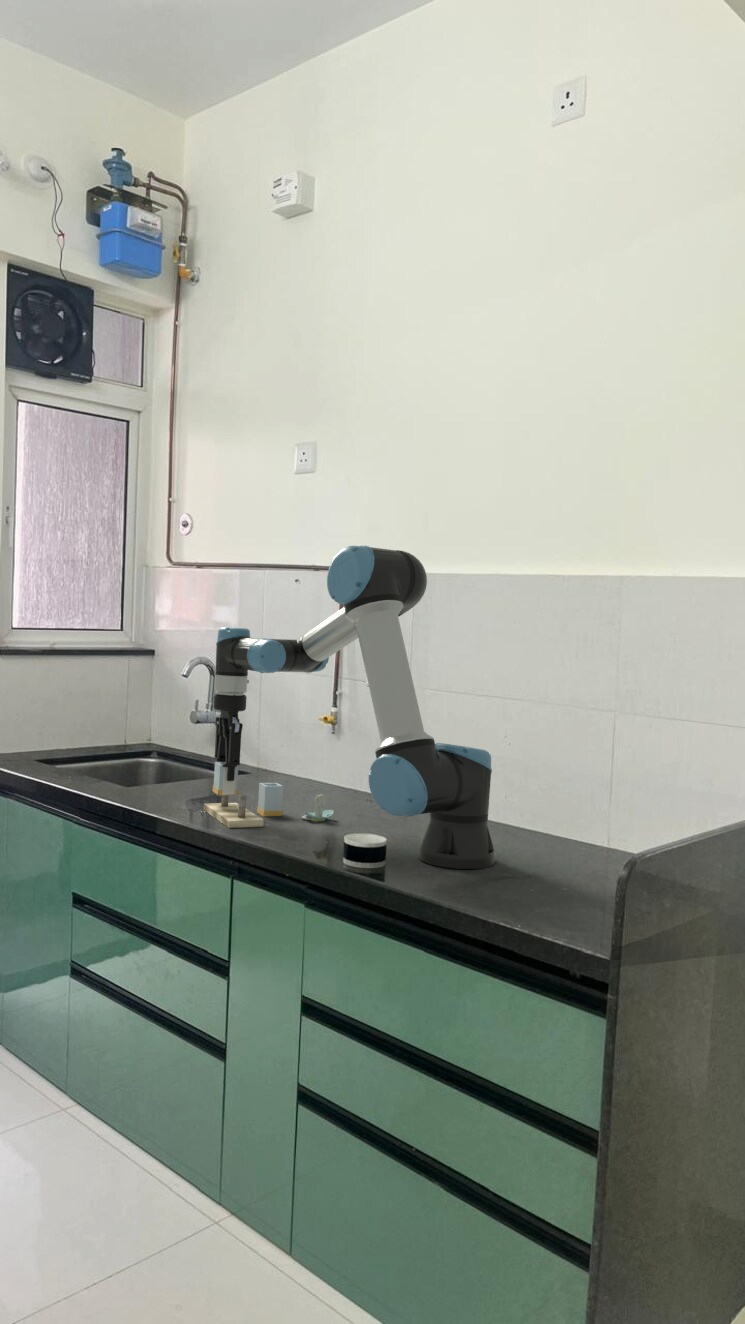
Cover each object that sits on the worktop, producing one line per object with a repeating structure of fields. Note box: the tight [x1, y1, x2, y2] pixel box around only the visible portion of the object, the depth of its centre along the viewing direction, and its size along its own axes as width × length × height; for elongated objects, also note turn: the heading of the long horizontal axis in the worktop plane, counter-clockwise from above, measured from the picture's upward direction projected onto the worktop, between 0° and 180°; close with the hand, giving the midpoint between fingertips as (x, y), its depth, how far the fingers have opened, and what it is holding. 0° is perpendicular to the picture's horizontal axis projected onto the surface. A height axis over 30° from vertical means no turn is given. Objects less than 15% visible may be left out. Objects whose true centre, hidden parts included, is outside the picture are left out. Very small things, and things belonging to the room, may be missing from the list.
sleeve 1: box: [211, 761, 240, 796], centre depth 237 cm, size 5×5×7 cm
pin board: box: [203, 793, 265, 829], centre depth 231 cm, size 20×8×6 cm, turn 25°
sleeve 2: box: [256, 782, 284, 817], centre depth 238 cm, size 5×5×7 cm
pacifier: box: [301, 793, 335, 822], centre depth 235 cm, size 7×6×6 cm
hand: (225, 792), depth 237 cm, fingers closed on sleeve 1, 5 cm apart
